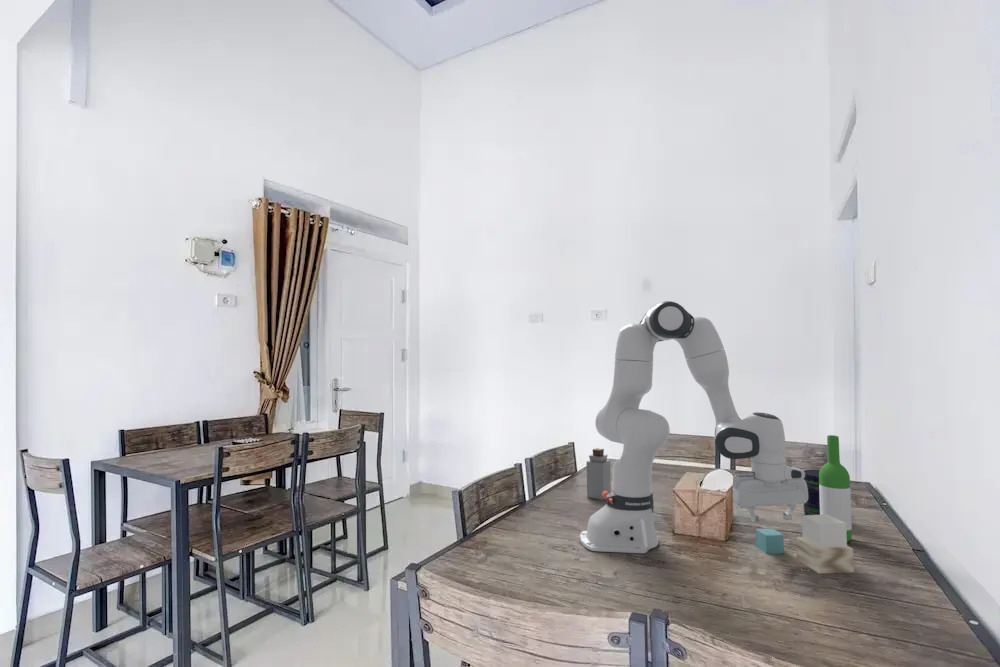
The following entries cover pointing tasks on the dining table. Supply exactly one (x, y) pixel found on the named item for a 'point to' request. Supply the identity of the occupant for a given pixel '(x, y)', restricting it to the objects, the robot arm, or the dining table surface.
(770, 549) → the teal cube
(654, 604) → the dining table surface
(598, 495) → the perfume bottle
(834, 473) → the wine bottle
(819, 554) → the birch base block
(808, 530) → the white middle block
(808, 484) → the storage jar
